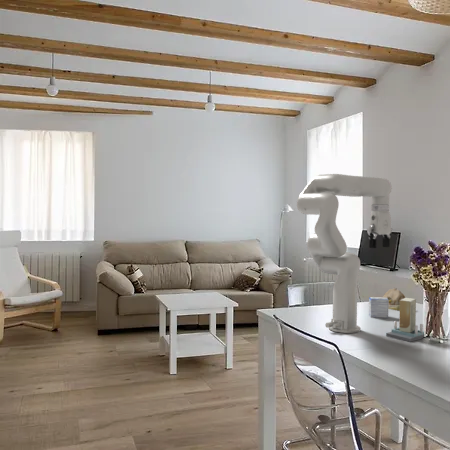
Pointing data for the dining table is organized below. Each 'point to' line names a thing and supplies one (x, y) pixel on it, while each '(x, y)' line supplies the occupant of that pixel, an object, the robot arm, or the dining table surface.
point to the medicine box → (378, 307)
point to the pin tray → (406, 333)
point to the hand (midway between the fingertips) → (379, 247)
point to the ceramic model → (394, 298)
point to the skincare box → (407, 315)
